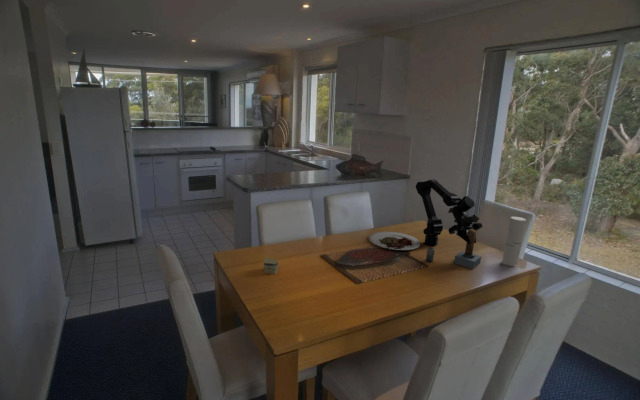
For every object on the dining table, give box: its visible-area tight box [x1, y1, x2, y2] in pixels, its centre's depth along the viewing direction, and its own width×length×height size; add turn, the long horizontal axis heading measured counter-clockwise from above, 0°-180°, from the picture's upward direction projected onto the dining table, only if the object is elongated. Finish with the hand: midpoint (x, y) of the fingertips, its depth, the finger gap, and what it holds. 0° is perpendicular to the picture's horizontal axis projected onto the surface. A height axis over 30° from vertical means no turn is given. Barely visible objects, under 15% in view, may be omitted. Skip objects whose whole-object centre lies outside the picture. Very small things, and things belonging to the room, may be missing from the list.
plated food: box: [368, 231, 421, 251], centre depth 215 cm, size 30×30×3 cm
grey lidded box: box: [263, 257, 280, 275], centre depth 168 cm, size 10×9×6 cm
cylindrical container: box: [501, 216, 527, 267], centre depth 191 cm, size 7×7×25 cm
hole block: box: [453, 250, 482, 270], centre depth 190 cm, size 10×10×4 cm
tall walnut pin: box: [464, 229, 477, 255], centre depth 188 cm, size 4×4×13 cm
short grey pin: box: [425, 246, 435, 263], centre depth 190 cm, size 4×4×7 cm
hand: (472, 243), depth 187 cm, fingers closed on tall walnut pin, 4 cm apart
